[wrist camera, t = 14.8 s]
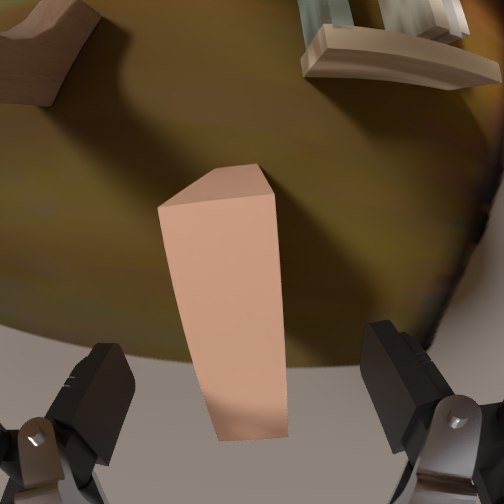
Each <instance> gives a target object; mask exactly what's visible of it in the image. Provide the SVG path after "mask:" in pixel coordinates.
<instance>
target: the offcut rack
mask: <svg viewBox="0 0 504 504" xmlns="http://www.w3.org/2000/svg"><path fill="white" fill-rule="evenodd" d="M297 2H298V7H299V13H300V18H301V24H302V29H303V35H304V41H305V47H306V51H305V53H304V54H303V56H302V58H301V66H302V73H303V77H335V78H358V79H372V80H383V81H392V82H401V83H408V84H415V85H421V86H427V87H433V88H439V89H444V90H454V89H460V88H466V87H473V86H480V85H488V84H497V83H502V79H501V74H500V69H499V64H498V63H497V62H494V61H492V60H489V59H487V58H484V57H482V56H479V55H476V54H474V53H471V52H468V51H465V50H462V49H459V48H456V47H453V46H450V45H446V44H449V43H451V42H454V41H457V40H460V39H462V38H464V37H466V36H469V35H470V32H469V29H468V25H467V22H466V19H465V16H464V13H463V10H462V7H461V4H460V1H459V0H378V4H379V7H380V11H381V15H382V19H383V23H384V27H385V30H380V29H373V28H365V27H357V26H354V23H353V18H352V14H351V10H350V6H349V2H348V0H297Z"/></svg>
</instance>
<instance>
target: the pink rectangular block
mask: <svg viewBox="0 0 504 504" xmlns="http://www.w3.org/2000/svg"><path fill="white" fill-rule="evenodd" d="M158 213H159V219H160V225H161V230H162V235H163V240H164V245H165V250H166V255H167V260H168V265H169V270H170V274H171V279H172V283H173V287H174V292H175V296H176V300H177V304H178V308H179V312H180V316H181V320H182V324H183V328H184V332H185V335H186V339H187V343H188V346H189V350H190V354H191V357H192V361H193V364H194V367H195V371H196V374H197V377H198V381H199V384H200V387H201V390H202V393H203V397H204V400H205V403H206V406H207V409H208V412H209V414H210V418H211V420H212V423H213V426H214V429H215V432H216V435H217V438H218V440H219V441H242V440H259V439H272V438H283V437H288V413H287V385H286V362H285V341H284V322H283V305H282V288H281V273H280V258H279V244H278V231H277V218H276V206H275V194H274V192H273V190H272V189H271V187H270V185H269V183H268V182H267V180H266V178H265V176H264V175H263V173H262V171H261V169H260V168H259V166H258V164H250V165H240V166H231V167H223V168H215V169H214V170H212V171H211V172H209V173H207V174H206V175H204V176H203V177H201V178H200V179H198V180H197V181H195V182H194V183H192V184H191V185H189V186H188V187H186V188H185V189H183V190H182V191H181V192H179V193H178V194H176V195H175V196H173V197H172V198H170V199H169V200H168V201H166V202H165V203H163V204H162V205H161V206H159V207H158Z"/></svg>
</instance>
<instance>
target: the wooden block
mask: <svg viewBox="0 0 504 504" xmlns="http://www.w3.org/2000/svg"><path fill="white" fill-rule="evenodd" d="M100 19H101V15H100V14H99V13H98V12H96V11H95V10H94V9H92V8H91V7H90V6H88V5H87V4H85V3H84V2H83V1H81V0H41V1H40V2H39V4H38V5H37V6H36V7H35V8H34V10H33V11H32V12H31V13H30V15H29V16H28V17H27V19H26V20H25V21H23V22H22V23H20V24H18V25H17V26H15V27H14V28H12V29H10V30H9V31H5V32H0V103H4V104H23V105H36V106H46V107H48V106H51V105H52V104H53V102H54V100H55V98H56V95H57V93H58V91H59V89H60V87H61V85H62V83H63V81H64V79H65V77H66V75H67V73H68V71H69V70H70V68H71V66H72V64H73V62H74V61H75V59H76V57H77V55H78V54H79V52H80V50H81V49H82V47H83V45H84V44H85V42H86V40H87V39H88V37H89V36H90V34H91V33H92V31H93V29H94V28H95V26H96V25H97V24H98V22H99V21H100Z"/></svg>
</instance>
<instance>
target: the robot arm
mask: <svg viewBox="0 0 504 504" xmlns="http://www.w3.org/2000/svg"><path fill="white" fill-rule="evenodd" d="M360 370H361V375H362V378H363V380H364V382H365V385H366V388H367V390H368V392H369V395H370V397H371V400H372V402H373V404H374V407H375V409H376V412H377V414H378V417H379V419H380V421H381V424H382V427H383V429H384V432H385V434H386V437H387V440H388V442H389V445H390V447H391V450H392V453H393V454H396V453H399V452H402V451H405V452H406V454H407V456H408V459H407V460H406V462H405V465H404V468H403V470H402V472H401V475H400V477H399V479H398V482H397V484H396V486H395V488H394V490H393V492H392V495H391V497H390V499H389V501H388V503H387V504H475V503H476V499H477V493H478V496H479V499H480V502H481V504H504V400H503V402H500V403H493V404H486V405H478V404H477V403H476V402H475V401H474V400H473V399H471V398H469V397H467V396H464V395H455V394H454V392H453V391H452V389H451V388H450V386H449V385H448V383H447V382H446V380H445V379H444V377H443V376H442V374H441V373H440V372H439V370H438V369H437V367H436V366H435V364H434V363H433V362H431V359H430V357H429V356H428V354H427V353H425V350H424V349H423V347H422V346H421V345H420V343H419V342H418V340H417V339H415V338H413V337H412V336H410V335H409V334H407V333H406V332H402V333H399V332H398V331H397V330H396V328H395V327H394V325H393V324H392V322H391V321H390V320H383V321H378V322H373V323H367V324H366V325H365V328H364V334H363V342H362V349H361V356H360ZM134 392H135V379H134V376H133V373H132V371H131V370H130V367H129V365H128V362H127V360H126V358H125V356H124V353H123V351H122V349H121V347H120V345H119V344H117V343H97V344H96V345H95V346H94V347H93V349H92V350H91V352H90V354H89V355H88V357H85V358H84V359H83V360H81V361H80V362H79V363H78V364H77V365H76V366H75V368H74V369H73V370H72V372H71V374H70V376H69V378H68V379H67V380H66V382H65V383H64V387H62V388H61V390H60V392H59V393H58V395H57V397H56V398H55V400H54V402H53V403H52V405H51V407H50V409H49V410H48V412H47V414H46V416H45V417H44V418H43V417H36V418H32V419H30V420H28V421H27V422H25V423H24V424H23V425H22V427H21V428H20V430H6V429H5V428H4V427H3V426H2V425H1V423H0V468H1V469H2V470H3V471H4V472H5V473H6V474H7V475H8V476H10V478H9V480H8V483H7V485H6V488H5V491H4V493H3V496H2V499H1V502H0V504H109V502H108V499H107V498H106V495H105V493H104V491H103V488H102V486H101V484H100V481H99V479H98V476H97V474H96V472H95V471H94V470H93V468H94V466H95V463H96V464H100V465H104V466H109V463H110V460H111V457H112V454H113V451H114V448H115V445H116V442H117V439H118V436H119V433H120V431H121V428H122V425H123V422H124V420H125V417H126V414H127V412H128V409H129V406H130V403H131V401H132V398H133V395H134ZM472 480H473V483H474V485H472V482H471V481H472Z"/></svg>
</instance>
